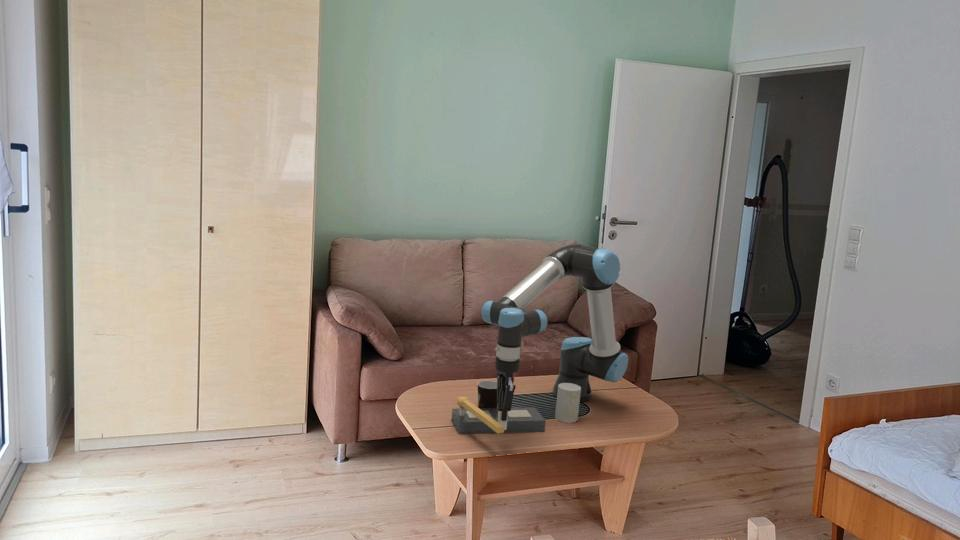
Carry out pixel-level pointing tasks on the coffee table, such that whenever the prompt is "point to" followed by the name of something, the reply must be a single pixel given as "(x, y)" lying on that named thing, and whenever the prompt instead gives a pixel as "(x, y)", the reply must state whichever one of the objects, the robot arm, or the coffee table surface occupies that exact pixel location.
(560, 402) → the gray cylinder
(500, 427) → the bar
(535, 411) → the chassis
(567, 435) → the coffee table surface
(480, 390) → the coffee mug
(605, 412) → the coffee table surface
